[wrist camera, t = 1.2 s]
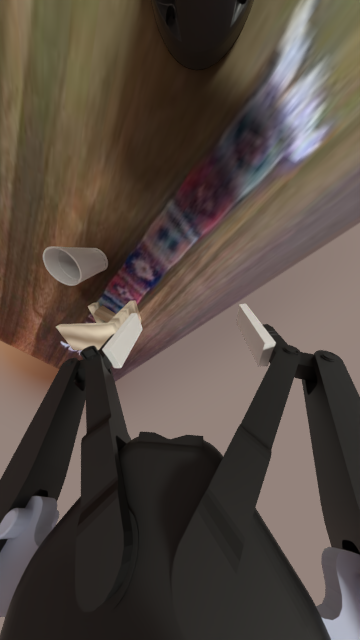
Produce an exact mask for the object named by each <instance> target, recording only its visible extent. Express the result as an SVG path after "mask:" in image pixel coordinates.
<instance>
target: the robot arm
mask: <svg viewBox="0 0 360 640" xmlns="http://www.w3.org/2000/svg"><path fill="white" fill-rule="evenodd" d="M253 1H254V0H151V2H152V7H153V11H154V15H155V19H156V22H157V25H158V28H159V31H160V34H161V36H162V38H163V40H164V42H165V44H166V46H167V48H168V50H169V51H170V53H171V54H172V55H173V57H174V58H175V59H176V60H177V61H178V62H179V63H181V64H182V65H184V66H185V67H187V68H190V69H196V70H199V69H205V68H208V67H210V66H212V65H213V64H215V63H216V62H218V61H219V60H220V59H221V58H222V57H223V56H224V55H225V54H226V53H227V52H228V50H229V49H230V48H231V46H232V45H233V44H234V42H235V40H236V39H237V37H238V35H239V34H240V32H241V30H242V28H243V26H244V24H245V22H246V19H247V17H248V15H249V12H250V9H251V7H252V4H253ZM237 325H238V327H239V329H240V331H241V333H242V335H243V337H244V339H245V341H246V343H247V345H248V346H249V349H250V351H251V353H252V355H253V357H254V359H255V361H256V363H257V365H258V366H268V364H269V362H270V366H269V368H268V371H267V372H266V374H265V376H264V378H263V380H262V382H261V384H260V386H259V388H258V390H257V392H256V395H255V396H254V398H253V401H252V403H251V405H250V407H249V409H248V411H247V413H246V415H245V417H244V419H243V421H242V423H241V424H240V426H239V427H238V429H237V431H236V433H235V435H234V437H233V439H232V441H231V443H230V445H229V447H228V449H227V451H226V453H225V455H224V457H223V456H222V454H221V453H220V452H219V451H218V450H217V449H216V448H215V447H214V446H213V445H211V444H210V443H208V442H206V441H204V440H203V436H193V435H185V436H181V437H178V438H174V439H167V438H165V437H162V436H161V435H158V434H156V433H152V432H151V433H150V432H140V434H139V437H136V438H134V439H133V440H131V438H130V436H129V435H128V432H127V428H126V424H125V420H124V416H123V413H122V409H121V405H120V401H119V397H118V393H117V389H116V385H115V382H114V378H113V374H112V370H111V368H110V367H111V365H113V367H114V368H121V367H122V366H123V364H124V362H125V360H126V358H127V357H128V355H129V353H130V351H131V349H132V348H133V346H134V344H135V342H136V340H137V339H138V337H139V335H140V333H141V331H142V326H141V323H140V321H139V318H138V315H137V313H131V314H130V316H129V317H128V318H127V319H126V321H125V322H124V323H123V324H122V325H121V327H120V328H119V329H118V330H117V332H116V333H115V334H113V335H111V336H110V337H109V338H108V339H107V341H106V342H105V343H104V344H103V345H102V347H101V348H100V349H99V350H97V348H96V347H95V346H89V347H87V348H85V349H83V350H82V351H81V353H80V355H81V356H82V357H83V359H84V360H80V361H79V360H78V359H77V358H71V359H69V360H67V361H65V362H64V363H63V364H62V366H61V367H60V369H59V371H58V373H57V375H56V377H55V379H54V381H53V382H52V384H51V386H50V388H49V390H48V392H47V394H46V396H45V397H44V399H43V401H42V403H41V405H40V407H39V409H38V410H37V412H36V414H35V416H34V418H33V420H32V422H31V423H30V425H29V427H28V429H27V431H26V433H25V435H24V437H23V438H22V440H21V443H20V444H19V446H18V448H17V450H16V452H15V453H14V455H13V457H12V459H11V461H10V463H9V465H8V466H7V468H6V470H5V472H4V474H3V476H2V478H1V480H0V617H5V621H4V624H3V627H2V630H1V634H0V640H360V397H359V394H358V392H357V390H356V388H355V386H354V384H353V382H352V379H351V377H350V375H349V373H348V371H347V369H346V367H345V365H344V363H343V361H342V359H341V358H340V357H339V356H337V355H335V354H333V353H331V352H328V351H323V350H319V351H316V352H315V353H314V355H313V354H308V353H302V352H300V351H299V350H298V349H297V348H295V347H293V346H290V345H288V344H287V343H286V342H285V341H284V340H283V339H282V338H281V336H280V335H278V333H277V332H276V331H275V329H274V328H273V327H271V326H269V325H268V324H265V325H262V324H261V323H260V322H259V320H258V319H257V318H256V316H255V315H254V314H253V312H252V311H251V310H250V309H249V307H248V306H247V305H246V304H239V308H238V317H237ZM294 377H295V378H299V379H302V384H303V390H304V396H305V402H306V409H307V416H308V422H309V429H310V435H311V442H312V449H313V455H314V462H315V468H316V475H317V481H318V488H319V494H320V500H321V506H322V511H323V516H324V521H325V525H326V529H327V532H328V535H329V539H330V543H331V546H332V547H328V548H326V549H324V551H323V553H322V568H323V573H324V579H325V585H326V589H325V591H326V592H325V598H324V600H323V603H322V604H320V605H318V606H315V604H314V602H313V600H312V598H311V597H310V595H309V593H308V591H307V590H306V588H305V586H304V585H303V583H302V582H301V580H300V578H299V577H298V575H297V574H296V572H295V571H294V569H293V567H292V566H291V564H290V562H289V561H288V559H287V558H286V556H285V554H284V553H283V552H282V550H281V548H280V546H279V545H278V543H277V542H276V540H275V538H274V537H273V535H272V534H271V532H270V530H269V529H268V527H267V526H266V524H265V522H264V521H263V519H262V518H261V516H260V514H259V513H258V511H257V510H256V508H255V506H256V503H257V500H258V497H259V494H260V490H261V487H262V484H263V481H264V477H265V474H266V471H267V467H268V464H269V461H270V458H271V449H272V445H273V442H274V439H275V435H276V432H277V429H278V426H279V423H280V420H281V417H282V414H283V410H284V407H285V404H286V401H287V398H288V395H289V391H290V388H291V385H292V382H293V379H294ZM85 400H86V420H87V421H86V422H87V434H86V435H85V436H84V437H83V438H82V442H81V497H80V498H79V499H78V500H77V501H76V502H75V504H74V505H73V506H72V507H71V508H70V510H69V511H68V512H67V513H66V514H65V515H64V516H63V518H62V519H61V520H60V521H59V522H58V524H57V525H56V523H57V521H58V518H59V511H58V510H57V500H58V497H59V495H60V492H61V489H62V486H63V483H64V480H65V477H66V473H67V470H68V466H69V462H70V458H71V454H72V451H73V447H74V443H75V439H76V435H77V431H78V427H79V423H80V419H81V415H82V411H83V408H84V403H85ZM55 525H56V526H55ZM54 526H55V527H54Z"/></svg>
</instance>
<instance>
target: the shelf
mask: <svg viewBox="0 0 360 640" xmlns="http://www.w3.org/2000/svg"><path fill="white" fill-rule="evenodd" d="M88 308H89V310H90V312H91V313H92V315H93V317H94V319H95V321H96V323H87V324H60V325H58V326H56V328H57V329H58V330H59V332H60V333H61V334H62V336H63V337H64V338H65V340H66V341H67V342H68V344H69V345H70V346H71V348H72V349H73V350H83V349H85V348H87V347H89V346H95V347H96V348H97V350H99V349H100V348H101V347H102V345H103V344H104V343H105V342H106V341H107V339H108V338H109V337H110V336H111V335H113V334H115V333H116V332H117V330H118V329H119V328H120V327H121V325H122V324H123V323H124V322H125V321H126V319H127V318H128V317H129V316H130V314H131V313H137V315H138V318H139V321H140V323H141V317H140V314H139V311H138V307H137V304H136V301H129V302H128V303H127V304H126V305H125V306H124V307H123V308H122V309H121V310H120V311H119V312H118V313H117V314H115V313H114V312H112V311H111V310H109V309H108V308H106V307H104V306H103V305H102V306H100V304H99V302H97V303H92V304H91V305H89V306H88Z"/></svg>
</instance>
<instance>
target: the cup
mask: <svg viewBox="0 0 360 640" xmlns="http://www.w3.org/2000/svg"><path fill="white" fill-rule="evenodd" d="M43 261H44V264H45V266H46V268H47V270H48V271H49V273H50V274H51V275H52V276H53V277H54V278H55V279H56V280H58V281H59V282H61V283H63V284H66V285H70V286H73V285H77V284H79V283H80V282H82V281H84V280H86V279H88V278H90V277H92V276H94V275H95V274H97V273H99V272H101V271H104V270H106V269H107V267H108V260H107V257H106V256H105V254H104V253H103V252H102V251H101V250H99V249H97V248H74V247H48V248H46V249H45V251H44V253H43Z"/></svg>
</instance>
